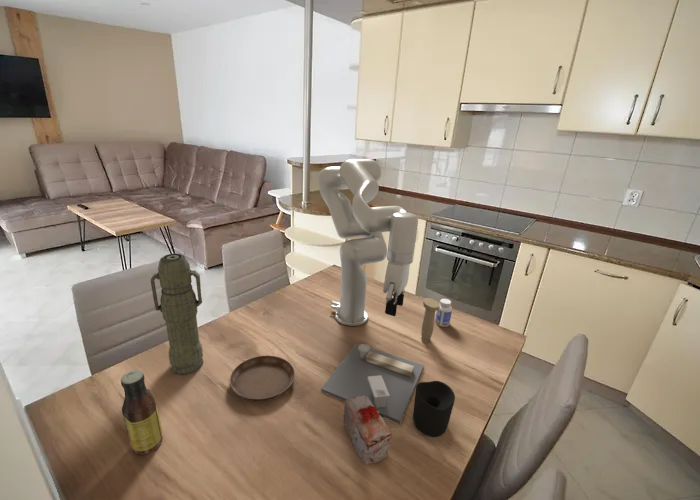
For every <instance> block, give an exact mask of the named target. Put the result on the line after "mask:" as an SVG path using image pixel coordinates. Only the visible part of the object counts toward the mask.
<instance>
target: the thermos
mask: <svg viewBox="0 0 700 500" xmlns="http://www.w3.org/2000/svg"><path fill="white" fill-rule="evenodd" d="M157 271H158V272H157V273H153V275H152V276H151V278H150V284H151V291H152V297H153V303H154V309H155V311H160V313H162V319H164V321H165V325H166V331H167V339H168V343H169V344H168V345H169V347H168V348H169V349H168V359H169V365H170V366H171V371H172V373H173V374H175V375H178V376H187V375H192V374H193V373H196V372H197V371H199V370H200V369H201V368H202V367H203V365H204V359H203V357H204V353H203V346H202V342H201V340H200V335H199V328H198V318H197V315H198V307H199V306H201V305H202V303H203V297H202V289H201V288H202V286H201V276H200V273H199V272H198V271H196V270H192V269H191V266H190V263H189V261H188V259H187V257H186V256H185V255H184V254H181V253H169V254H166V255H163V256H162V257H161V258H160V259H159V263H158V267H157ZM192 276H193V277H194V278H195V283H196V291H197V293H196V292H195V291H194V289H193V285H192ZM156 279H157V280H159V284H160V288H161V297H160V299H159V300H160V301H158V295H157V290H156V288H157V287H156V283H155V281H156ZM196 294H197V295H196ZM159 302H160V304H159Z"/></svg>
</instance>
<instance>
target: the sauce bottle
mask: <svg viewBox="0 0 700 500" xmlns="http://www.w3.org/2000/svg"><path fill="white" fill-rule="evenodd" d="M120 382H121V383H120V384H121V387H122V388H123V391H124V399H123V403H122V407H121V414H122V418H123V421H124V425H125V428H126V432H127V436H128V439H129V443H130V447H131V449H132V451H133V452H134V453H135V454H137V455H141V456H142V455H148V454H150V453H153V452H154V451H156V450H157V449H158V448H159V446H160V445H161V444H162V442H163V439H164V438H163V429H162V424H161V419H160V414H159V410H158V406H157V402H156V398H155V395H154V393H153V392H152V391H151V390H150V389H148V388H147V386H146V384H145V373H144V372H143V371H142V370H140V369H134V370H130V371H128V372H126V373H125V374H123V375H122V377H121V378H120Z"/></svg>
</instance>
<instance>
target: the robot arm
mask: <svg viewBox="0 0 700 500" xmlns="http://www.w3.org/2000/svg"><path fill="white" fill-rule="evenodd" d="M381 176H382V168H381V166H380V164H379V162H377V161H376V160H374V159H373V158H372V159H370V158H358V159H357V158H349V159H346V160H344V161H343V162H341V165H340V166H339V165H337V166H336V165H335V166H328V167H324V168H323V169H321V170H320V171H319V173H318V175H317V184H318V190H319V193H320V195H321V198H322V199H323V201H324V202H325V204H326V206H327V209H328V210H329V214H330V217H331V219H332V223H333V224H334V227H335V231H336V234H337V235H338V236H339V238H341V239H343V240H344V239H345V240H346V241H344V242H343V243H342V244H341V245H340V247H339V258H340V266H341V267H340V268H341V269H340V270H341V271H340V272H341V274H340V292H339V293H340V297H339V302H338V301H336V300H331V303H330V305H331V306H330V309H332V310H336V312H335V313H334V314H335V315H334V316H335V320H336V321H337V322H339V323H340V324H342V325H345V326H350V327H356V326H361V325H364V324H365V323H367V321H368V320H369V314H368V312H367V311H366V310H365V307H366V295H367V281H368V276H367V273H366V271H365V270H364V269H363V266H364V265H370V264H375V263H376V264H377V263H379V262H383V261H384V260H386V261H387V266H386V270H385V276H384V282H383V288H382V292H383V293H384V294H386V297H385V311H384V314H385V315H389V316H392V317H396V316H397V308H398V306H399V307H403V305H404V299H405V298H404V297H405V288H406V287H407V285H408V281H409V276H410V265H411V264H412V263H413V262H414V256H415V255H414V254H415V248H416V239H417V234H418V225H419V218H418V216H417V214H414V213H412V212H408V211H407V210H406V209H405V208H404V207H402V206H399V205H388V206H386V205H385V206H384V205H383V206H374V207H373V206H372V207H371V206H369V204H368V203H369V202H371V201H372V200H374V199H375V197H376V196H377V195H378V193H379V189H380V188H379V187H380V186H379V183H378V182H379V180H380V178H381ZM340 190H350V192H351V193H352V195H353V198H352V201H351V200H350V199H349V198H348V197H347V196H346V195H345V194H344V193H342V192H341V191H340ZM386 232H387V233H388V232H389V234H388V235H389V237H388V245H387V243H386V241H385V238H384V234H383V233H386Z"/></svg>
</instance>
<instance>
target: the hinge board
mask: <svg viewBox="0 0 700 500" xmlns="http://www.w3.org/2000/svg"><path fill="white" fill-rule="evenodd" d="M369 351H371V352H374V353H377V354H380V355H383V356H386V357H389V358H392V359H395V360H398V361H401V362H404V363H407V364H409V365H412V366H414V372H413V374H412V376H411V377H409V376H406V375H404V374H401V373H398V372H395V371H392V370H389V369H387V368H384V367H381V366H378V365H375V364H372V363H370V362H367V361H366V356H367V354H368V353H369ZM424 366H425V365H423V364H421V363H418V362H416V361H412V360H409V359H406V358H403V357H400V356H397V355H394V354H391V353H388V352H385V351H383V350H379V349H377V348H374V347H370V346H369V345H368V344H364V343H363V344H362V343H359V342H357V343H355V345H353V347H352V349H351V350H349V352H348V354H347V355H346V356H345V357H344V358H343V360H342V361H341V362H340V363H339V365H338V366H337V367H336V368H335V370H334V371H333V373H332V374H331V375H330V376H329V378H328V379H327V380H326V381H325V382H324V384H323V386H322V387H321V388H320V392H321V393H324V394H327V395H329V396H331V397H334V398H335V399H338V400H340V401H343V402H345V401H346V400H348V399H350V398H353V397H357V396H361V395H364V396H367V397H368V398H369V400H370V401H371V403H372V404H373V405H374V407H376V409H377V411H379V415H380V416H381V417H382V418H383V419H387V420H389V421H391V422H394V423H396V424H399V425H400V424H401V422H402V419H403V418H404V415H405V412H406V411H407V407H408V405H409V403H410V400H411V398H412V396H413V393H414V392H415V390H416V386H417V384H418V383H419V382H418V381H419V380H420V377H421V375H422V372H423V370H424Z"/></svg>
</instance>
